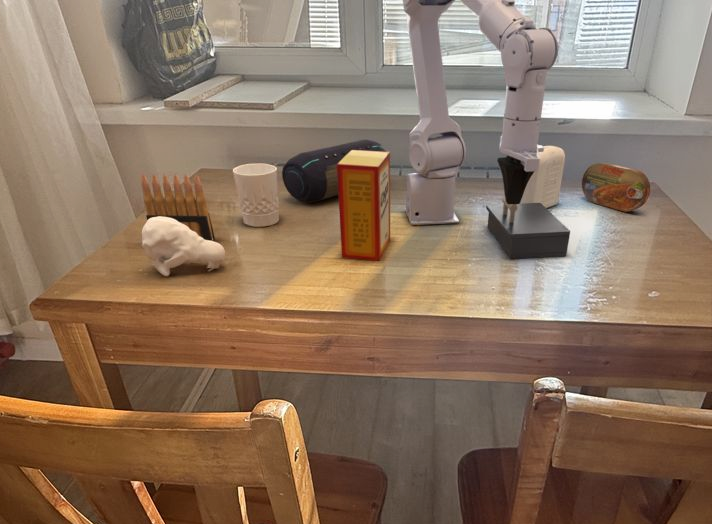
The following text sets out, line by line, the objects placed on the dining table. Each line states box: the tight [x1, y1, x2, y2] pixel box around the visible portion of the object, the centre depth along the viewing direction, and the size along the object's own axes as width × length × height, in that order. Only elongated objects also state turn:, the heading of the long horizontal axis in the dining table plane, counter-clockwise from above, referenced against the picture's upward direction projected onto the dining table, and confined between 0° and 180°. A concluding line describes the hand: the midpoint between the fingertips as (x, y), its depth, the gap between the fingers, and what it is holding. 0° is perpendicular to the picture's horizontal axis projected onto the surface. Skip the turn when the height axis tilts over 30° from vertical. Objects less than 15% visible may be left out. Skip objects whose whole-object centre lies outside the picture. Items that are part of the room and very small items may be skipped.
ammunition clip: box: [140, 173, 216, 242], centre depth 100 cm, size 11×2×12 cm, turn 91°
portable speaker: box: [281, 139, 387, 203], centre depth 125 cm, size 25×10×10 cm, turn 137°
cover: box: [485, 195, 571, 238], centre depth 103 cm, size 11×15×4 cm
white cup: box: [232, 162, 280, 228], centre depth 110 cm, size 8×8×10 cm
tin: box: [581, 162, 651, 213], centre depth 122 cm, size 15×3×8 cm, turn 41°
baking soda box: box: [337, 150, 391, 262], centre depth 98 cm, size 10×6×16 cm
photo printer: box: [520, 145, 566, 209], centre depth 119 cm, size 10×4×12 cm, turn 134°
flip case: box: [486, 212, 571, 260], centre depth 105 cm, size 10×15×4 cm
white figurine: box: [141, 216, 226, 277], centre depth 91 cm, size 6×8×12 cm
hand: (512, 203), depth 97 cm, fingers closed
